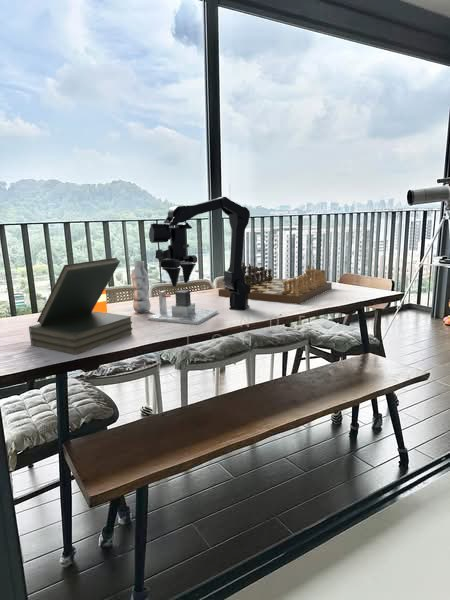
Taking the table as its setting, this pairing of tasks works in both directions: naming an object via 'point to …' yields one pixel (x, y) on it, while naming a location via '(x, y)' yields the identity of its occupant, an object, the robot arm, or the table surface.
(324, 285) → the chess set
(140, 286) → the plastic bottle
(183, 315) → the base
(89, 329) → the bible
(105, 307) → the orange juice
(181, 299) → the block
